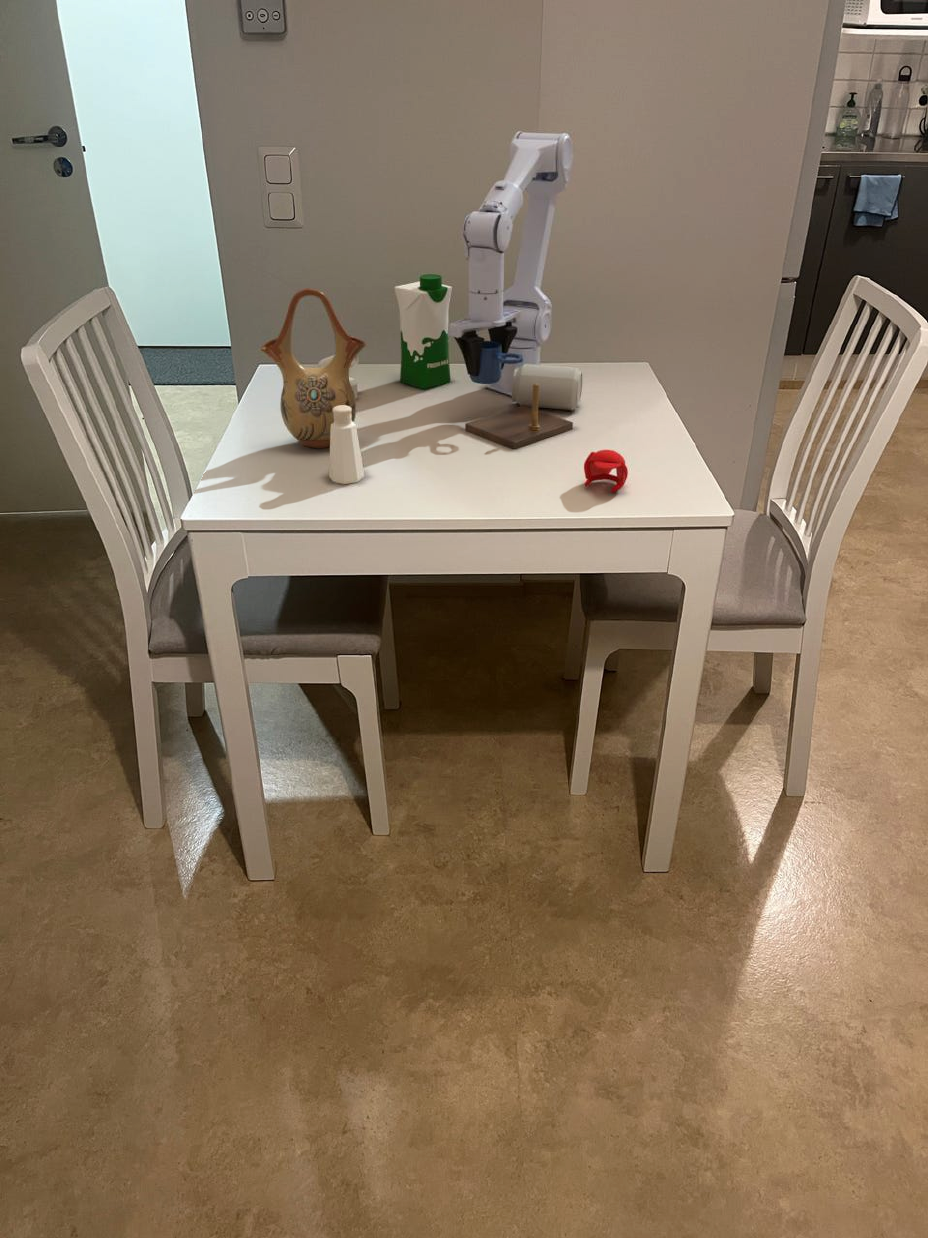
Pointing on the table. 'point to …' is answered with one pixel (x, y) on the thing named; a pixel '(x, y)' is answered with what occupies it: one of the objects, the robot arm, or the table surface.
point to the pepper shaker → (344, 448)
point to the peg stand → (519, 425)
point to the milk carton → (424, 332)
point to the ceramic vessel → (313, 379)
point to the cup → (493, 362)
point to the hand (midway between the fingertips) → (485, 371)
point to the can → (547, 386)
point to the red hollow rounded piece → (605, 468)
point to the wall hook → (351, 380)
